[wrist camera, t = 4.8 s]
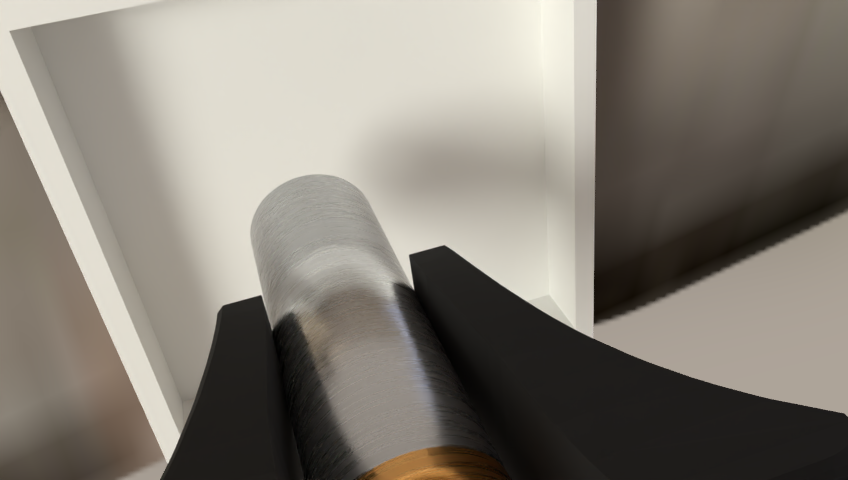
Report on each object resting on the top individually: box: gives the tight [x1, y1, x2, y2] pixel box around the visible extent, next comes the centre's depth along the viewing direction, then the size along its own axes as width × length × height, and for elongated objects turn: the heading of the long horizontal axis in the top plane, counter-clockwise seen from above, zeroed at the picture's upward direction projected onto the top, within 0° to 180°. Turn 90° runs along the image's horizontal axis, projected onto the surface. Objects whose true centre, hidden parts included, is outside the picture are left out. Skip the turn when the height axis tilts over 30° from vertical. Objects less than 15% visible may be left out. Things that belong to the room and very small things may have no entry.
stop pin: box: [250, 174, 511, 480], centre depth 12 cm, size 2×2×8 cm
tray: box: [0, 0, 597, 463], centre depth 17 cm, size 11×11×2 cm
